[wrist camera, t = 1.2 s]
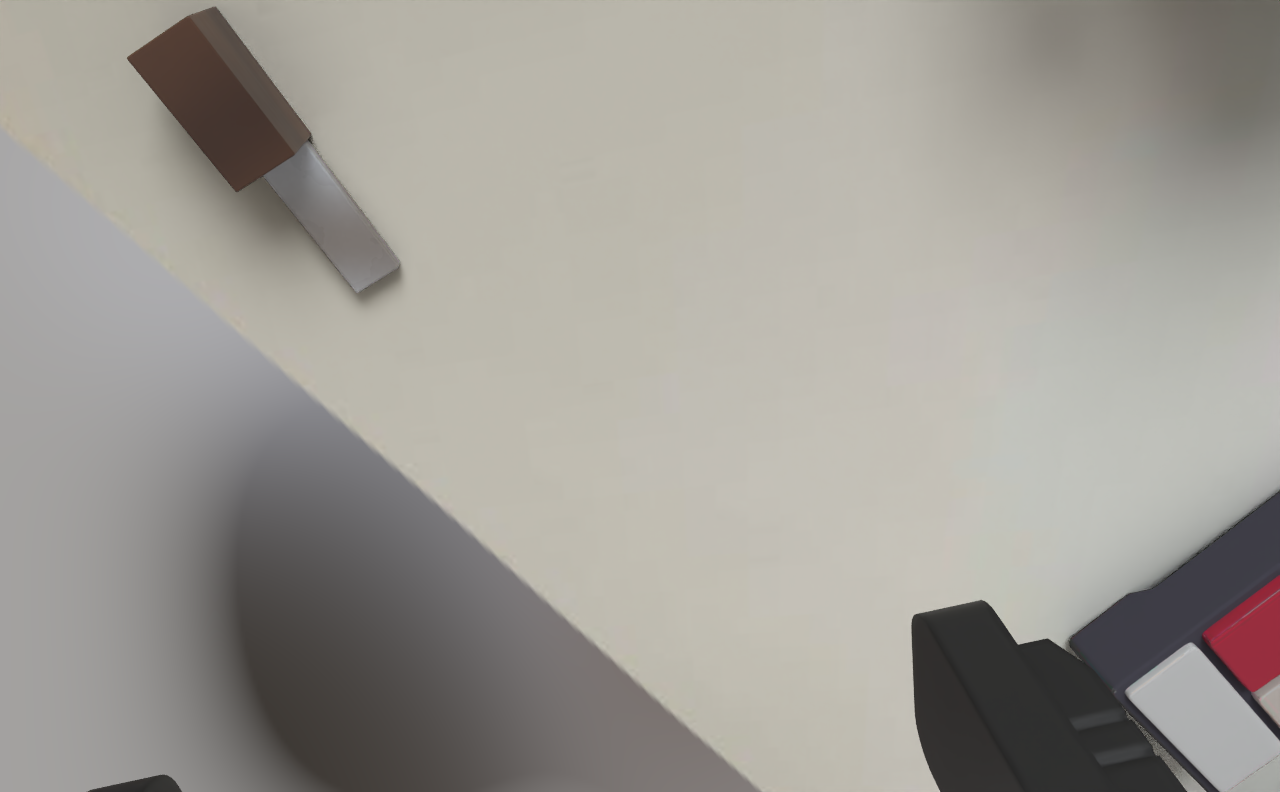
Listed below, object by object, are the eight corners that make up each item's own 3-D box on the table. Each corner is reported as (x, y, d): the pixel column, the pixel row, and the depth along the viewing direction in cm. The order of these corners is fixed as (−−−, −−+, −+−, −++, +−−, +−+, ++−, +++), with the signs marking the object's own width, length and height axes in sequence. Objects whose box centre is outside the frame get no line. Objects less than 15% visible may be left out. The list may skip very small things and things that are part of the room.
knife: (158, 45, 29) (125, 58, 26) (215, 5, 29) (188, 15, 26) (354, 291, 33) (341, 322, 31) (405, 259, 33) (397, 287, 30)
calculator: (1500, 619, 43) (1225, 812, 46) (1416, 564, 47) (1167, 745, 50) (1418, 482, 39) (1119, 705, 41) (1332, 433, 42) (1064, 641, 45)
